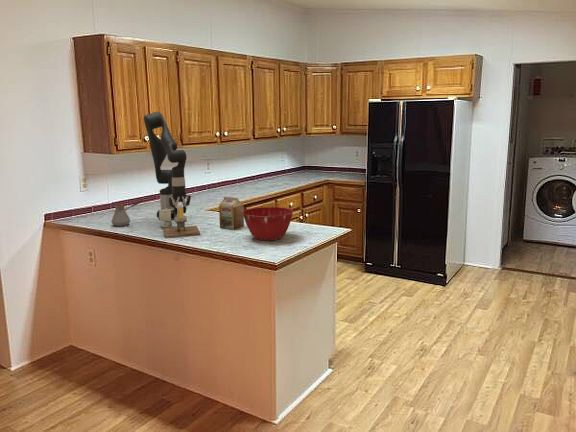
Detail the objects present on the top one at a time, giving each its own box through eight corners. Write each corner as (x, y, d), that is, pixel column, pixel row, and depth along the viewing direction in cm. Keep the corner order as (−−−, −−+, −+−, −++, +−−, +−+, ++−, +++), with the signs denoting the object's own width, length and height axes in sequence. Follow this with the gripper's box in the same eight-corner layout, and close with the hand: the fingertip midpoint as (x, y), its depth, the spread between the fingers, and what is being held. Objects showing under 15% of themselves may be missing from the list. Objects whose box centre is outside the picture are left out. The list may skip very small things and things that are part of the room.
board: (163, 230, 306) (162, 220, 304) (196, 228, 311) (196, 217, 310) (165, 238, 287) (164, 227, 286) (200, 235, 292) (199, 224, 291)
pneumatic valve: (160, 225, 319) (159, 207, 316) (178, 226, 316) (176, 207, 314) (156, 227, 313) (155, 208, 311) (174, 228, 311) (173, 209, 309)
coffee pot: (113, 228, 314) (111, 204, 311) (110, 224, 323) (108, 201, 320) (148, 224, 324) (146, 201, 321) (143, 220, 334) (142, 198, 331)
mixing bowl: (243, 232, 298) (242, 206, 295) (291, 231, 300) (291, 205, 297) (242, 245, 271) (241, 216, 267) (295, 243, 272) (295, 215, 269)
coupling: (175, 224, 291) (174, 208, 290) (174, 220, 302) (173, 205, 300) (187, 223, 293) (186, 208, 291) (186, 219, 304) (185, 204, 302)
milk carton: (244, 226, 313) (243, 196, 309) (233, 230, 304) (232, 199, 300) (230, 225, 318) (229, 195, 314) (219, 228, 309) (218, 197, 306)
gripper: (169, 186, 286) (171, 216, 290) (192, 184, 294) (194, 213, 298) (164, 185, 292) (166, 214, 296) (187, 182, 300) (189, 211, 304)
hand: (180, 213), depth 297 cm, fingers open, 4 cm apart
